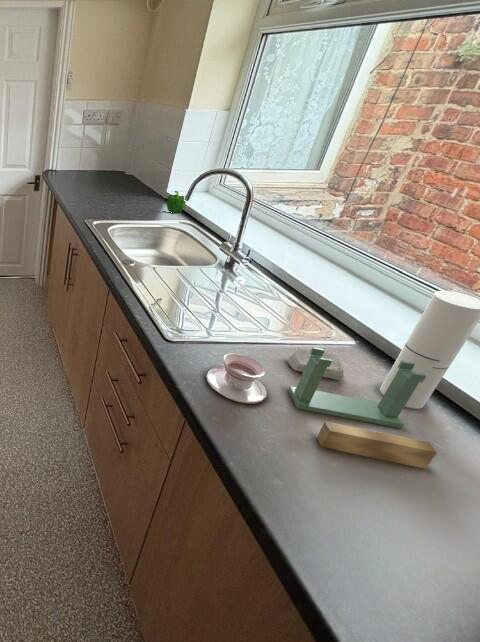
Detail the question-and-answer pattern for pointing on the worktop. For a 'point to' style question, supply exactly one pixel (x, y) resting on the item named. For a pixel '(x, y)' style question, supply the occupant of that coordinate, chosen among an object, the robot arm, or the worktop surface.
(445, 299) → the cylindrical container
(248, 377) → the teacup
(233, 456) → the worktop surface
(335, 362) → the grey stone block
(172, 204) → the bell pepper
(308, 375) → the hanger stand
